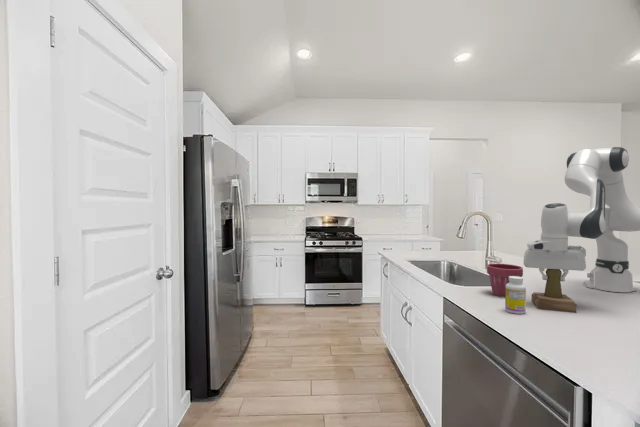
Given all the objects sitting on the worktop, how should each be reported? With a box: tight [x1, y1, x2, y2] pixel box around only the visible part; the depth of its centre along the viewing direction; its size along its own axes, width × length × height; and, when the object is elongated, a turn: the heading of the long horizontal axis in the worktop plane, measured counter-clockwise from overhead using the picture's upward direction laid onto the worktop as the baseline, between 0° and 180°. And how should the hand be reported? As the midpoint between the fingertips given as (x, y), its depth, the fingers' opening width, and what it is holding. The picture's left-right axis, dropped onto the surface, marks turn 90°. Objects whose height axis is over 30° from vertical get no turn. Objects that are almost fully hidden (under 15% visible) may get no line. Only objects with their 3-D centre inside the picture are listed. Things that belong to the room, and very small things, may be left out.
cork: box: [543, 269, 563, 298], centre depth 136 cm, size 6×6×11 cm
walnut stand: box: [531, 291, 577, 314], centre depth 136 cm, size 12×12×4 cm
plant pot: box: [486, 263, 524, 298], centre depth 154 cm, size 14×14×13 cm
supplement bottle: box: [504, 276, 527, 315], centre depth 128 cm, size 7×7×13 cm
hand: (553, 280), depth 135 cm, fingers open, 4 cm apart
